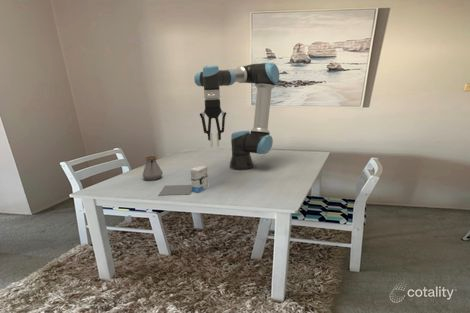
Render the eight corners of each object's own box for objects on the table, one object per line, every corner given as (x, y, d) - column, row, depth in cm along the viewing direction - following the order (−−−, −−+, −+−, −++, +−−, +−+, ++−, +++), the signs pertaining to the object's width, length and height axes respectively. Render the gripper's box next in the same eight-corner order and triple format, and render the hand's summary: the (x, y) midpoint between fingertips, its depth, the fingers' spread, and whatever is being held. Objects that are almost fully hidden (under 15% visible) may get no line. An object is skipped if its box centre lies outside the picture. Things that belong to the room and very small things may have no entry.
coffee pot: (142, 177, 182) (139, 152, 178) (162, 174, 185) (159, 150, 182) (143, 188, 162) (140, 161, 158) (165, 185, 165) (162, 158, 162)
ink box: (199, 192, 152) (197, 170, 149) (191, 191, 154) (189, 169, 152) (209, 187, 159) (207, 166, 156) (201, 186, 161) (200, 165, 159)
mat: (194, 185, 163) (194, 184, 163) (190, 194, 150) (190, 193, 150) (165, 186, 164) (164, 185, 164) (158, 195, 150) (158, 195, 150)
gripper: (195, 100, 142) (198, 148, 148) (228, 98, 142) (230, 147, 147) (197, 99, 149) (200, 145, 155) (228, 97, 149) (230, 144, 154)
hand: (214, 146), depth 151 cm, fingers open, 3 cm apart
